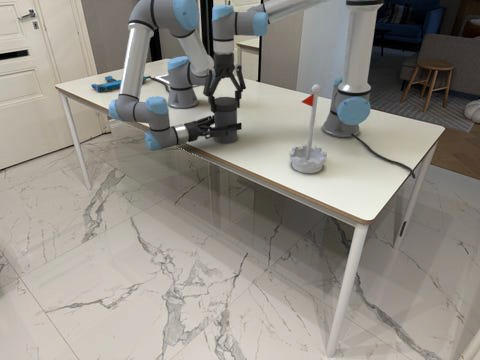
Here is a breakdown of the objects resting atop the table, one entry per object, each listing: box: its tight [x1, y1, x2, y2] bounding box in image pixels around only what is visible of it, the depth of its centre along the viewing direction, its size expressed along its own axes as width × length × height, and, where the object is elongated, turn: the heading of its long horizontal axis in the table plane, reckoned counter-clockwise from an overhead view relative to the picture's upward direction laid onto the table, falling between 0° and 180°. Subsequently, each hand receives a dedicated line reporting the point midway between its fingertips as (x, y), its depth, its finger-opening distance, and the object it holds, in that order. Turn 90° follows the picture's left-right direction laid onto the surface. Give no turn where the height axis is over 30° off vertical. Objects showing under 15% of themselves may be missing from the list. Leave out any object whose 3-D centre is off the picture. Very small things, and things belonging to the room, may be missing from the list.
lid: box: [215, 96, 238, 111], centre depth 136 cm, size 10×10×2 cm
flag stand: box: [289, 83, 328, 174], centre depth 116 cm, size 13×13×30 cm
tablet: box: [153, 73, 200, 88], centre depth 212 cm, size 32×20×1 cm, turn 41°
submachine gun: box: [90, 75, 152, 92], centre depth 206 cm, size 34×4×25 cm
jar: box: [213, 108, 238, 144], centre depth 140 cm, size 9×9×16 cm
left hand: (235, 121), depth 142 cm, fingers closed on jar, 9 cm apart
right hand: (225, 109), depth 137 cm, fingers open, 10 cm apart
